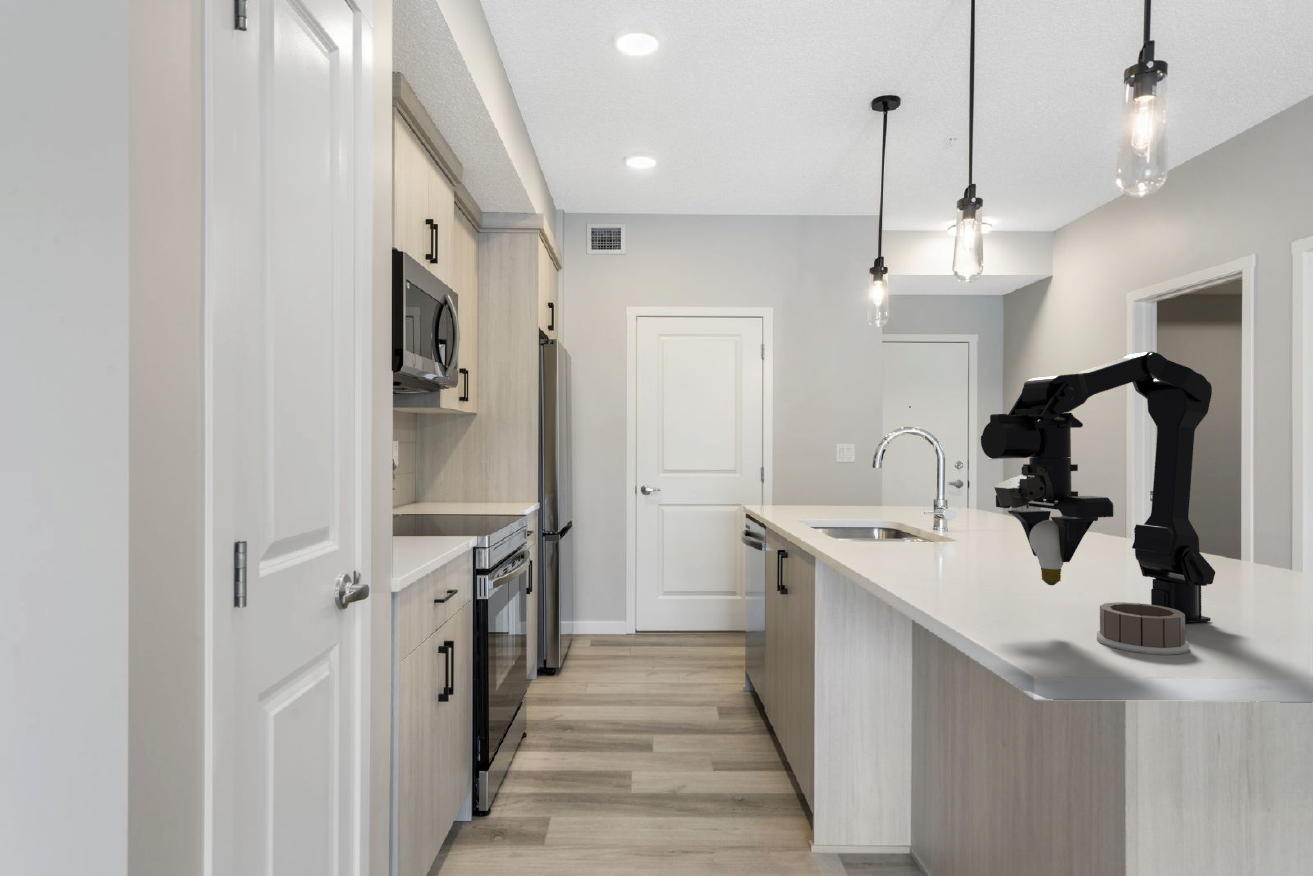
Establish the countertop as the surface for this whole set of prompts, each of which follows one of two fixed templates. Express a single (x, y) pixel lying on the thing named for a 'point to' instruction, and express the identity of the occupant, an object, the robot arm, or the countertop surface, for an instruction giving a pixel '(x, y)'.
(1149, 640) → the socket
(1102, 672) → the countertop surface
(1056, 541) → the light bulb
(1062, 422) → the robot arm
